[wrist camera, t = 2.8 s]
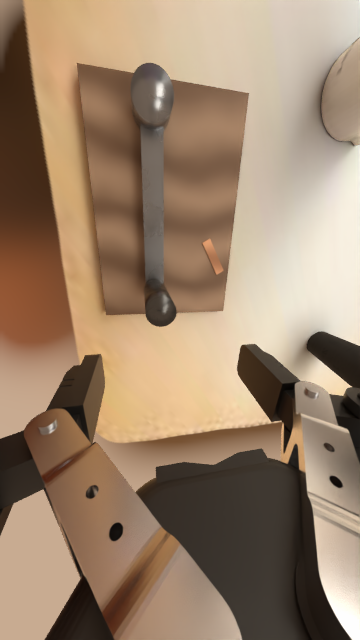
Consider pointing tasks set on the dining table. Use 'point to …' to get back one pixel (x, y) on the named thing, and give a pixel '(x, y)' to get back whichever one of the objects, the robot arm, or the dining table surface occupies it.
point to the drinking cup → (337, 356)
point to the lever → (153, 182)
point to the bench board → (179, 189)
